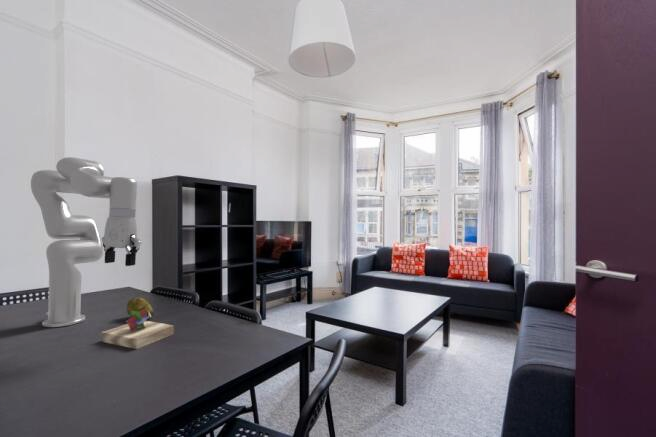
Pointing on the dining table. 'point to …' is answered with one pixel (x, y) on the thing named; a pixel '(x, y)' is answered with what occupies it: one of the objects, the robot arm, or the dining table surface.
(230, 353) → the dining table surface
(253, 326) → the dining table surface
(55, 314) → the robot arm
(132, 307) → the potato
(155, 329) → the birch platform
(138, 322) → the geometric puzzle
